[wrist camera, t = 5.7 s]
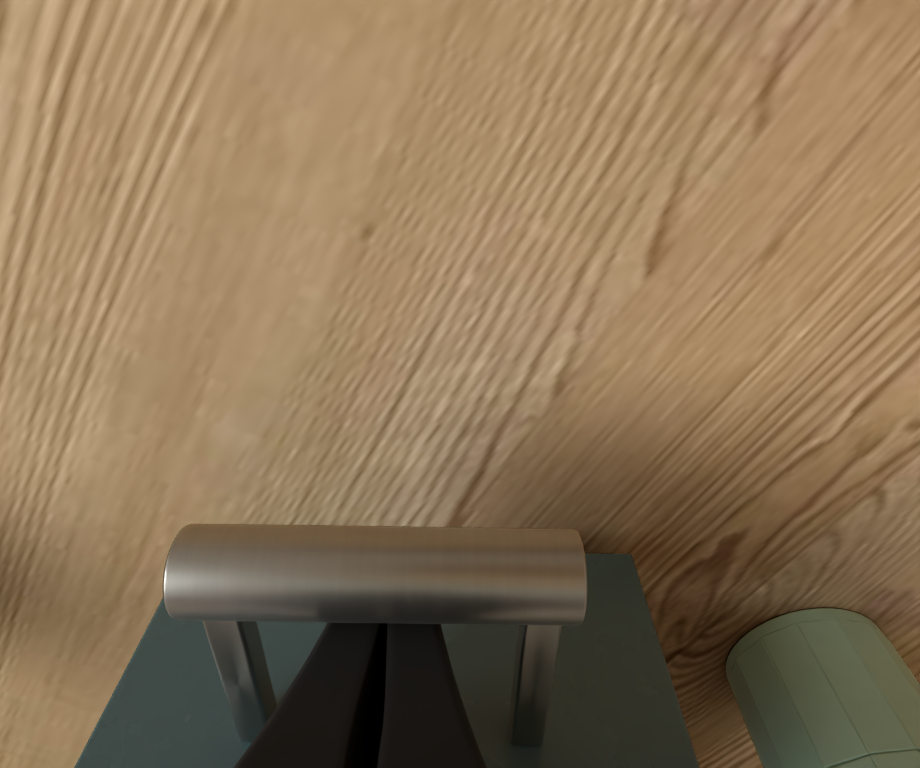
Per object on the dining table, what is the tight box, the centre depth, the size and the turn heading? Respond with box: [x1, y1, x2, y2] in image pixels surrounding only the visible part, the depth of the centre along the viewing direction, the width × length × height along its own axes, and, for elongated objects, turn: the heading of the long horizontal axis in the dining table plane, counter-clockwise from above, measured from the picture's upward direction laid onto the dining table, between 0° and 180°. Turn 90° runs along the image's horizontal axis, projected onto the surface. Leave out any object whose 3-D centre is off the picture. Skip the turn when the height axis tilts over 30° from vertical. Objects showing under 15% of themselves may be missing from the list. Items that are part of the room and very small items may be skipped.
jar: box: [726, 608, 920, 768], centre depth 17 cm, size 5×5×5 cm
